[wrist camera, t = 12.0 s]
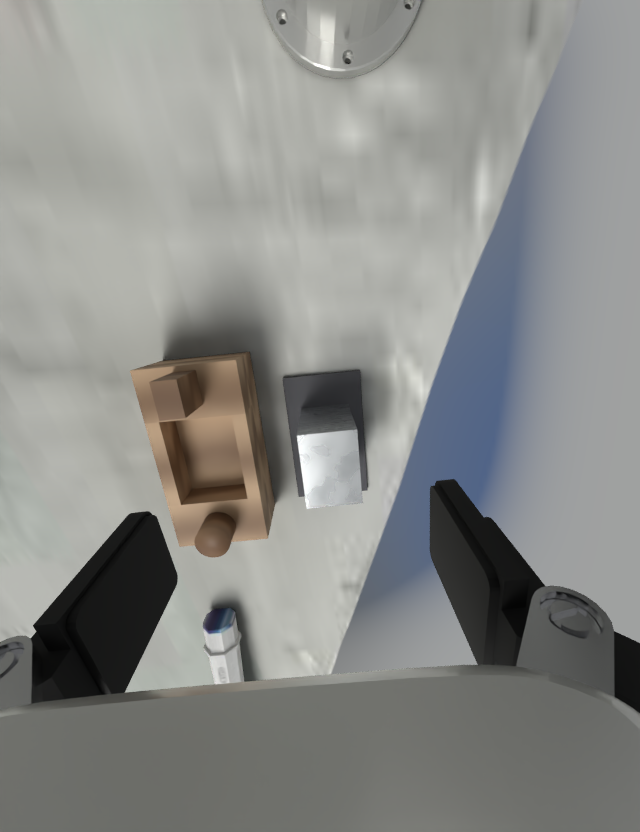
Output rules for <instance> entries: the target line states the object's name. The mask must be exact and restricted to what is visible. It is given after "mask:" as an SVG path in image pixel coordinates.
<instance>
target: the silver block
mask: <svg viewBox="0 0 640 832" xmlns="http://www.w3.org/2000/svg"><path fill="white" fill-rule="evenodd" d="M297 441H298V448H299V456H300V463H301V470H302V478H303V485H304V492H305V500H306V507H307V509H308V508H318V507H328V506H338V505H348V504H358V503H363V501H362V488H361V474H360V461H359V447H358V433H357V427H356V425H355V422H354V419H353V416H352V414H351V411H350V408H349V406H348V404H338V405H329V406H319V407H309V408H301V411H300V418H299V424H298V431H297Z"/></svg>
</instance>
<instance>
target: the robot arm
mask: <svg viewBox="0 0 640 832" xmlns="http://www.w3.org/2000/svg"><path fill="white" fill-rule="evenodd" d="M420 3H421V0H262V4H263V7H264V11H265V14H266V16H267V19H268V21H269V23H270V26H271V28H272V30H273V32H274V34H275V35H276V37H277V38H278V40H279V42H280V43H281V45H282V46H283V48H284V49H285V50H286V51H287V52H288V53H289V54H290V55H291V56H292V57H293V59H294V60H296V61H297V62H298V63H300V64H301V65H302V66H304V67H305V68H306V69H308V70H310V71H312V72H315V73H317V74H319V75H321V76H326V77H331V78H336V79H338V78H352V77H356V76H359V75H362V74H366V73H368V72H369V71H371V70H373V69H375V68H376V67H378V66H380V65H381V64H382V63H383V62H384V61H386V60H387V59H388V58H389V57H390V56H391V55H392V54H393V53H394V52H395V51H396V49H397V48H398V47H399V46H400V44H401V43H402V42H403V41H404V39H405V37H406V35H407V33H408V32H409V30H410V28H411V26H412V24H413V22H414V20H415V17H416V14H417V12H418V9H419V6H420ZM281 24H284V25H281ZM346 62H349V64H345V63H346ZM430 553H431V558H432V561H433V563H434V566H435V568H436V570H437V573H438V575H439V577H440V579H441V582H442V584H443V586H444V588H445V591H446V593H447V595H448V598H449V600H450V602H451V605H452V607H453V609H454V611H455V614H456V616H457V618H458V620H459V623H460V625H461V627H462V630H463V632H464V634H465V636H466V639H467V641H468V643H469V646H470V648H471V650H472V652H473V655H474V657H475V659H476V661H477V664H478V665H454V666H438V667H422V668H406V669H392V670H380V671H367V672H355V673H343V674H331V675H318V676H306V677H294V678H283V679H271V680H260V681H248V682H237V683H226V684H214V685H203V686H192V687H181V688H171V689H160V690H149V691H139V692H128V693H124V692H125V690H126V688H127V686H128V684H129V682H130V680H131V678H132V676H133V674H134V672H135V670H136V668H137V666H138V664H139V661H140V659H141V657H142V655H143V653H144V651H145V649H146V647H147V645H148V643H149V641H150V639H151V637H152V635H153V633H154V631H155V628H156V626H157V624H158V622H159V620H160V618H161V616H162V614H163V612H164V610H165V608H166V606H167V604H168V602H169V600H170V598H171V595H172V593H173V591H174V589H175V587H176V585H177V579H178V578H177V572H176V570H175V567H174V564H173V561H172V558H171V556H170V553H169V550H168V547H167V544H166V542H165V539H164V536H163V533H162V530H161V528H160V525H159V522H158V519H157V517H156V516H155V515H152V514H151V513H150V512H148V511H147V512H137V513H131V514H129V515H128V516H127V517H126V518H125V519H124V521H123V522H122V523H121V524H120V525H119V526H118V527H117V529H116V530H115V531H114V532H113V533H112V534H111V536H110V537H109V538H108V539H107V540H106V541H105V543H104V544H103V545H102V546H101V547H100V548H99V550H98V551H97V552H96V553H95V554H94V555H93V557H92V558H91V559H90V560H89V561H88V562H87V563H86V565H85V566H84V567H83V568H82V569H81V570H80V572H79V573H78V574H77V575H76V576H75V577H74V579H73V580H72V581H71V582H70V583H69V584H68V586H67V587H66V588H65V589H64V590H63V591H62V593H61V594H60V595H59V596H58V597H57V598H56V599H55V601H54V602H53V603H52V604H51V605H50V606H49V608H48V609H47V610H46V611H45V612H44V613H43V615H42V616H41V617H40V618H39V619H38V620H37V622H36V623H35V624H34V625H33V627H34V628H35V630H36V631H37V632H36V633H35V634H34V635H33V637H32V638H29V637H27V636H16V637H12V638H8V639H6V640H4V641H2V642H0V832H640V643H638V642H636V641H634V640H632V639H630V638H628V637H625V636H623V635H621V634H619V633H617V632H615V631H614V629H613V625H612V622H611V620H610V619H609V617H608V616H607V614H606V613H605V612H604V611H603V610H602V609H601V608H600V607H599V606H598V605H597V604H596V603H595V602H593V601H592V600H591V599H589V598H588V597H586V596H585V595H582V594H580V593H578V592H576V591H574V590H571V589H567V588H564V587H560V586H545V585H544V584H543V583H542V582H541V580H540V579H539V578H538V576H537V575H536V574H535V572H534V571H533V570H532V569H531V568H530V566H529V565H528V564H527V562H526V561H525V560H524V559H523V557H522V556H521V555H520V553H519V552H518V551H517V550H516V549H515V547H514V546H513V545H512V543H511V542H510V541H509V540H508V539H507V537H506V536H505V535H504V533H503V532H502V531H501V529H500V528H499V527H498V526H497V524H496V523H495V522H494V521H493V520H492V519H491V518H489V517H485V518H484V517H483V516H482V515H481V513H480V512H479V511H478V509H477V508H476V507H475V505H474V504H473V503H472V501H471V500H470V499H469V497H468V496H467V495H466V494H465V492H464V491H463V490H462V488H461V487H460V486H459V484H458V483H457V482H456V481H455V480H454V479H451V480H442V481H436V483H435V486H431V488H430Z"/></svg>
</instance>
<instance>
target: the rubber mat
mask: <svg viewBox="0 0 640 832" xmlns="http://www.w3.org/2000/svg"><path fill="white" fill-rule="evenodd" d="M283 385H284V392H285V400H286V407H287V414H288V421H289V429H290V436H291V443H292V450H293V458H294V465H295V472H296V480H297V487H298V494H299V497H302V496H305V492H304V485H303V478H302V470H301V463H300V456H299V448H298V441H297V431H298V424H299V418H300V411H301V408H309V407H319V406H329V405H338V404H348V406H349V408H350V411H351V414H352V416H353V419H354V422H355V425H356V427H357V433H358V447H359V461H360V474H361V488H362V491H365V490H367V476H366V460H365V444H364V428H363V412H362V395H361V379H360V370H355V371H345V372H335V373H326V374H316V375H306V376H296V377H286V378H283Z"/></svg>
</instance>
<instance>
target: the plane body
mask: <svg viewBox="0 0 640 832" xmlns="http://www.w3.org/2000/svg"><path fill="white" fill-rule="evenodd" d="M130 373H131V376H132V380H133V383H134V387H135V390H136V394H137V397H138V401H139V405H140V408H141V412H142V415H143V419H144V422H145V426H146V429H147V433H148V436H149V440H150V443H151V447H152V451H153V454H154V458H155V461H156V465H157V468H158V472H159V475H160V479H161V482H162V486H163V489H164V493H165V497H166V500H167V504H168V507H169V511H170V514H171V518H172V521H173V525H174V528H175V532H176V535H177V539H178V543H179V546H180V547H182V546H193V545H195V547H196V549H197V550H198V551H199V552H200V553H201V554H203V555H205V556H208V557H219V556H222V555H224V554H225V553H226V552H227V551H228V549H229V547H230V544H231V542H235V541H246V540H257V539H267V538H268V535H269V530H270V526H271V521H272V516H273V511H274V507H275V502H274V496H273V490H272V484H271V478H270V472H269V466H268V460H267V454H266V448H265V442H264V435H263V429H262V423H261V417H260V411H259V405H258V399H257V393H256V387H255V381H254V375H253V369H252V363H251V357H250V352H243V353H233V354H223V355H214V356H204V357H194V358H185V359H175V360H165V361H160V362H157V363H154V364H150V365H147V366H144V367H141V368H137V369H134V370H131V371H130Z"/></svg>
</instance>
